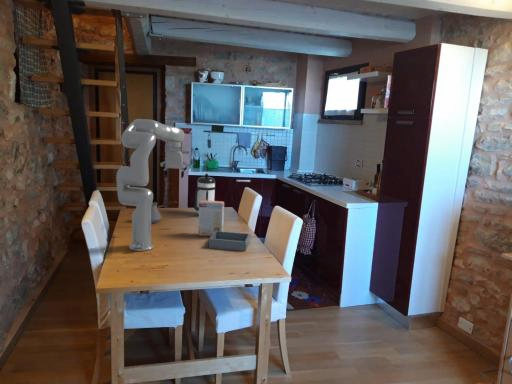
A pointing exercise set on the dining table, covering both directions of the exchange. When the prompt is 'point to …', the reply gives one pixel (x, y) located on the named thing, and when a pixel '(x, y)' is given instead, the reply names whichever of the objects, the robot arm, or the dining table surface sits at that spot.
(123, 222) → the dining table surface
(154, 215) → the coffee pot
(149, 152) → the robot arm
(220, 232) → the tray
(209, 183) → the coffee press
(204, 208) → the cracker box
